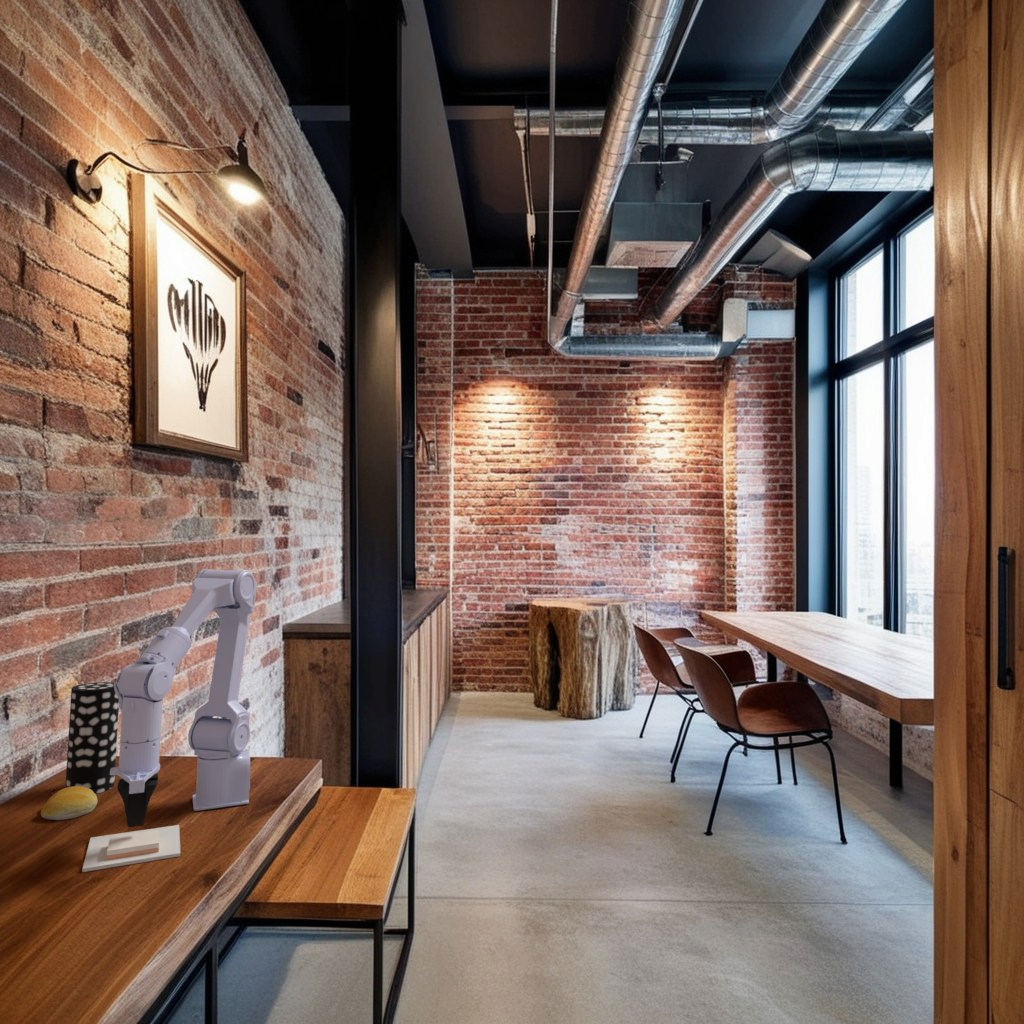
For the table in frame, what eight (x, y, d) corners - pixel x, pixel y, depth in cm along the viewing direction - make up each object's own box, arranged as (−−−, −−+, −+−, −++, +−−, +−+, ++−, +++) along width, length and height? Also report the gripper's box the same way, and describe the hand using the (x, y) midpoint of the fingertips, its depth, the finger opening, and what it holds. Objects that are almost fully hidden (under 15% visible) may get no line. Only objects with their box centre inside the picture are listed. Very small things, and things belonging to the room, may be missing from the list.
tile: (159, 829, 111) (159, 842, 106) (158, 838, 110) (158, 852, 106) (109, 836, 107) (107, 850, 102) (109, 846, 107) (106, 860, 102)
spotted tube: (122, 786, 135) (128, 685, 136) (77, 798, 128) (84, 692, 130) (101, 778, 140) (107, 680, 141) (56, 789, 133) (63, 686, 134)
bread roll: (35, 824, 117) (37, 801, 117) (50, 806, 125) (51, 784, 125) (90, 819, 119) (92, 796, 120) (101, 801, 128) (102, 779, 128)
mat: (179, 827, 116) (179, 824, 116) (180, 856, 105) (180, 852, 105) (90, 840, 110) (90, 837, 110) (82, 872, 100) (82, 868, 100)
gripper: (115, 730, 114) (110, 812, 113) (108, 753, 101) (102, 847, 100) (162, 726, 117) (157, 806, 116) (161, 748, 104) (156, 839, 103)
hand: (135, 825), depth 108 cm, fingers closed
